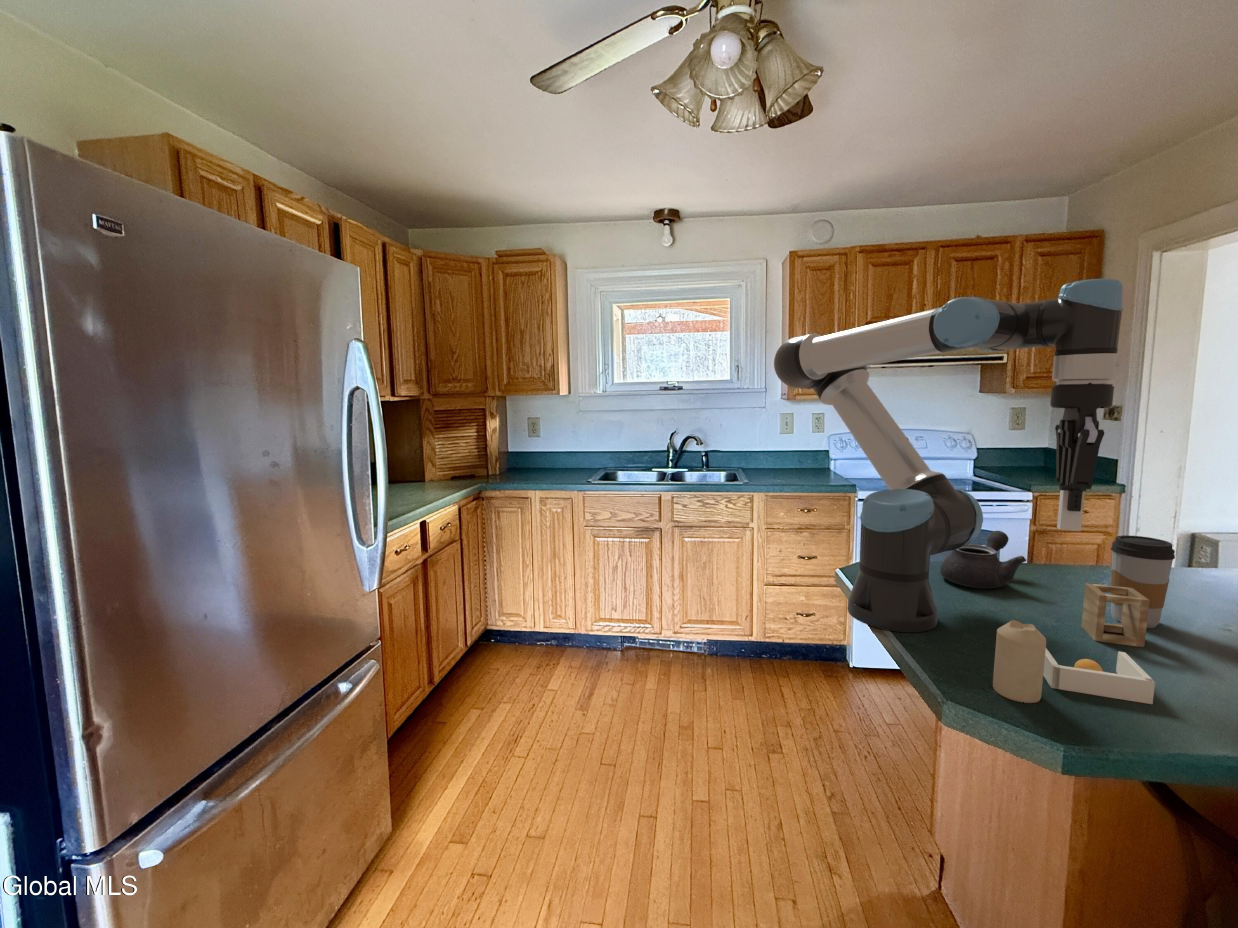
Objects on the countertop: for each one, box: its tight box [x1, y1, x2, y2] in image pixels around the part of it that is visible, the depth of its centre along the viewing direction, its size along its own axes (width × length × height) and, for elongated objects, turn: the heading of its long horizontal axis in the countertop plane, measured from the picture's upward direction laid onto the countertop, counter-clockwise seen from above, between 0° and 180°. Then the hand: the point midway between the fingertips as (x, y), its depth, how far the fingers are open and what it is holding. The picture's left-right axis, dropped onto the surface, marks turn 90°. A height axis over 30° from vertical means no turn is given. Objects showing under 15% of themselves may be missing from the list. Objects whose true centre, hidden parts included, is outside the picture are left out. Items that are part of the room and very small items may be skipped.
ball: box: [1073, 658, 1104, 672], centre depth 79 cm, size 3×3×3 cm
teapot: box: [939, 530, 1027, 589], centre depth 121 cm, size 19×15×10 cm
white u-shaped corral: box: [1043, 648, 1156, 705], centre depth 79 cm, size 11×9×3 cm
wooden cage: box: [1080, 583, 1150, 648], centre depth 93 cm, size 6×6×8 cm
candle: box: [992, 619, 1047, 704], centre depth 76 cm, size 6×6×10 cm
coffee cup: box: [1110, 534, 1176, 629], centre depth 98 cm, size 8×8×15 cm
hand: (1068, 529), depth 89 cm, fingers closed
